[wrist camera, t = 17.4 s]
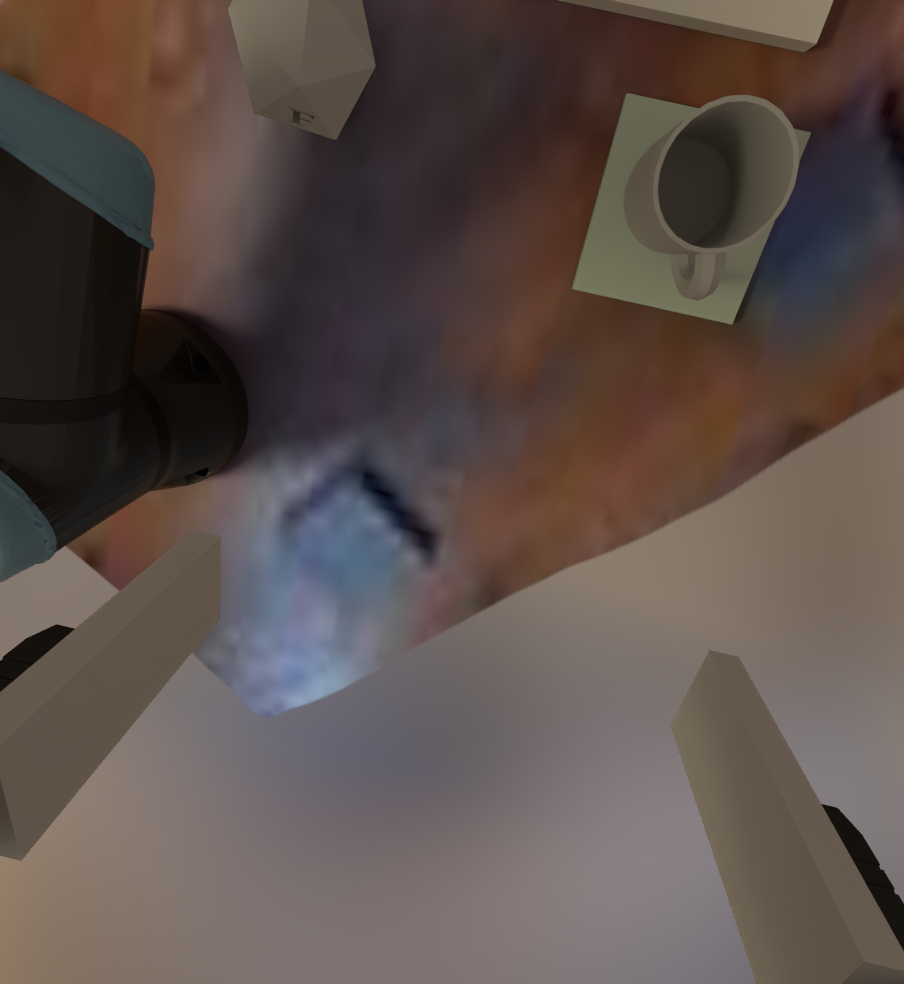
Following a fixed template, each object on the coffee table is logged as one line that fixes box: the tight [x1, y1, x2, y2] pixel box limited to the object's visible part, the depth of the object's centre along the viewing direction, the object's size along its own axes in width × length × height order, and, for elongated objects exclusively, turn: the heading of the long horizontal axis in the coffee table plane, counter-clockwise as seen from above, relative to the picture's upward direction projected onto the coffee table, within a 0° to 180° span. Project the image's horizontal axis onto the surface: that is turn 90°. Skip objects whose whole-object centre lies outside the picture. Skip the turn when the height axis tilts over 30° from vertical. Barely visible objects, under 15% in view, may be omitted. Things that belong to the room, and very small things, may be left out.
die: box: [228, 0, 376, 140], centre depth 32 cm, size 8×9×10 cm
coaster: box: [571, 93, 811, 324], centre depth 36 cm, size 12×12×1 cm
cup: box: [623, 95, 799, 301], centre depth 32 cm, size 7×10×9 cm
